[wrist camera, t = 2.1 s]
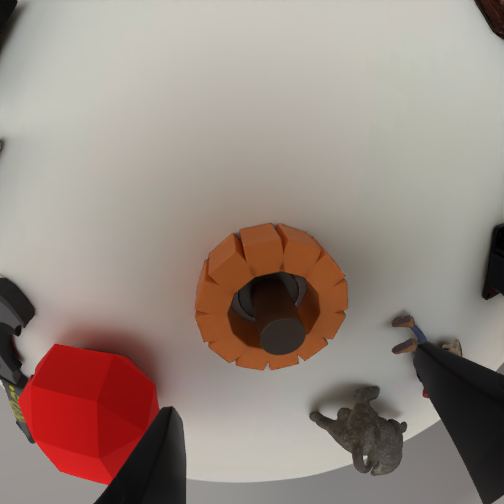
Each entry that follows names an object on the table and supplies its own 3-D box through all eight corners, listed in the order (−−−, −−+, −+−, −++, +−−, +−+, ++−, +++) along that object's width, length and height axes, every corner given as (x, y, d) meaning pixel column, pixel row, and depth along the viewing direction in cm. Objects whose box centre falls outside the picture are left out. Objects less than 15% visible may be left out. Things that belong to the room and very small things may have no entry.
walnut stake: (292, 256, 15) (317, 298, 11) (299, 307, 16) (321, 355, 12) (231, 270, 15) (237, 316, 11) (243, 319, 16) (252, 372, 12)
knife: (55, 460, 20) (19, 442, 19) (58, 450, 21) (23, 433, 20) (22, 304, 13) (-30, 275, 11) (34, 291, 14) (-18, 265, 13)
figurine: (381, 378, 15) (441, 431, 19) (445, 356, 12) (480, 418, 17) (381, 307, 19) (440, 382, 24) (433, 283, 17) (475, 368, 21)
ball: (42, 318, 15) (-13, 401, 8) (156, 334, 16) (133, 446, 9) (72, 399, 17) (45, 475, 10) (166, 414, 19) (159, 502, 12)
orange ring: (325, 211, 14) (344, 225, 12) (334, 326, 17) (348, 350, 15) (182, 242, 14) (176, 261, 12) (217, 352, 17) (218, 381, 15)
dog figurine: (295, 407, 20) (318, 488, 13) (357, 366, 19) (400, 444, 12) (358, 443, 24) (380, 497, 17) (404, 413, 23) (434, 465, 16)
